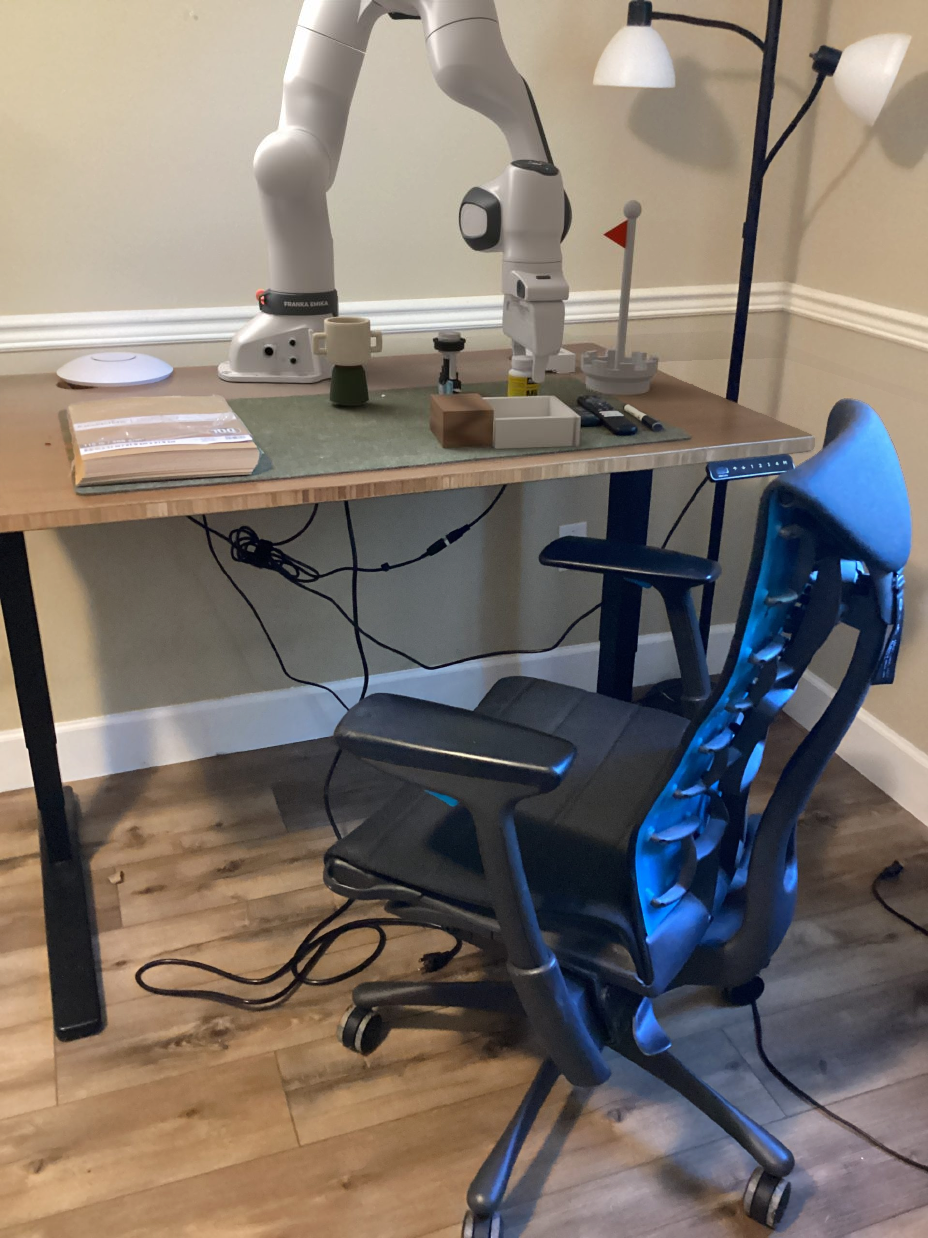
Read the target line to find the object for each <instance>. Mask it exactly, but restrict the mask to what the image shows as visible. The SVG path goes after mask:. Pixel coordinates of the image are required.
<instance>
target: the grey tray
mask: <svg viewBox="0 0 928 1238" xmlns="http://www.w3.org/2000/svg"><path fill="white" fill-rule="evenodd" d="M482 398H483V399H484V400H485V401H486V402H487V403H488V404H489V405H490V406H491V407H492V409H493V410H494V420H493V446H492V448H494V449H495V450H498V449H499V450H502V449H524V448H525V449H526V448H543V447H544V448H546V447H547V448H552V447H579V446H580V436H581V421H582V420H581V419H582V417H581V416H580V415H579V414H578V413H576V411H575V410H573V409H571V407H569V406H568V405H566V404H565V403H564V401H561V399H559V398H558V397H556V396H555V395H538V396H519V397H508V396H493V397H492V396H491V397H490V396H489V397H488V396H486V397H482Z"/></svg>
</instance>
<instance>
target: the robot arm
mask: <svg viewBox="0 0 928 1238" xmlns="http://www.w3.org/2000/svg"><path fill="white" fill-rule="evenodd" d="M386 14H388V16H389V18H390V19H391V20H394V21H399V20H400V21H401V20H403V21H404V20H415V21H416V20H417V21H421V23H422V28H423V35H424V39H425V45H426V46H425V47H426V51H427V57H428V58H427V59H428V62H429V67H430V69H431V73H432V76H433V78H434V81H435V82H436V84H437V85H438V87H439V89H440V90H441V91H442V92H443V93H444V94H445V95H446V96H447V97H449V98H450V99H451V100H453V101H455V102H456V103H458V104H459V105H462V106H465V107H467V108H469V109H471V110H474V111H475V112H477V113H479V114H481V115H482V116H484V117H486V118H487V119H489V120H491V121H492V122H493V123H494V124H495V125H496V126H498V128H499V129H500V131H501V132H502V133H503V135H504V137H505V139H506V142H507V144H508V148H509V150H510V151H509V152H510V154H511V158H512V161H511V162H509V163H508V164H507V166H506V168H505V169H504V170H503V171H504V172H503V173H501V174H500V175H499V176H497V177H496V178H494V179H492V180H490V181H488V182H485V183H483V184H481V185H478V186H473V187H472V188H470V189H469V190H468V191H467V192H466V193H465V195H464V196H463V198H462V200H461V203H460V206H459V210H458V227H459V233H460V235H461V237H462V238H463V241H464V242H465V244H466V245H467V246H468V247H469V248H470V249H472V251H475V252H480V253H485V254H486V253H487V254H488V253H502V258H501V292H502V294H503V305H502V319H501V321H502V323H501V325H502V326H501V327H502V333H503V334H504V335H505V336H507V337H508V338H510V339H511V349H512V356H513V355H514V356H519V355H526V349H528V350H529V351H531V352H532V353H533V355H532V358H533V368H532V369H531V380H532V381H534V382H535V383H539V384H540V383H543V382H545V379H546V378H545V377H546V371H547V370H546V367H547V364H548V360H549V356H552V355H558V354H559V352H560V349H561V348H562V345H563V338H564V329H565V318H566V317H565V316H566V305H565V302H564V301H568V299H569V296H570V286H569V283H568V282H567V280H566V278H565V276H564V272H563V253H562V249H561V248H562V247H561V244H562V243H563V242H564V241H565V239H566V237H567V236H568V233H569V231H570V229H571V225H572V223H573V222H572V221H573V211H572V204H571V201H570V199H569V196H568V194H567V192H566V190H565V188H564V182H563V176H562V173H561V171H560V169H559V168H558V167H557V166H556V165H555V163H554V160H553V157H552V153H551V151H550V147H549V143H548V141H547V137H546V133H545V130H544V127H543V124H542V121H541V116H540V113H539V111H538V109H537V108H538V107H537V105H536V101H535V98H534V96H533V93H532V91H531V88H530V86H529V84H528V82H527V80H526V79H525V78H524V77H523V75H522V74H521V73H519V71H518V70H517V68H516V66H515V65H514V63H513V61H512V59H511V57H510V55H509V52H508V51H507V50H508V49H507V48H506V45H505V43H504V39H503V35H502V32H501V27H500V22H499V17H498V16H499V15H498V12H497V8H496V4H495V0H304V1H303V4H302V7H301V10H300V15H299V17H298V21H297V25H296V28H295V32H294V33H295V34H294V35H293V36H294V37H293V41H292V43H291V48H290V52H289V56H288V60H287V63H286V69H285V72H284V75H283V84H282V85H283V87H282V88H283V89H282V99H281V100H282V101H281V107H280V115H279V121H278V128H277V130H275V131H273V132H271V133H269V134H267V136H265V137H264V138H263V140H262V141H261V142H260V143H259V145H258V147H257V149H256V151H255V153H254V158H253V165H252V166H253V167H252V168H253V174H254V178H255V180H256V183H257V184H256V185H257V190H258V191H257V192H258V197H259V198H258V199H259V204H260V205H259V206H260V210H261V215H262V216H261V217H262V220H263V224H264V231H265V236H266V243H267V245H266V246H267V257H268V259H267V260H268V275H269V277H268V278H269V288H268V289H266V290H265V289H263V288H259V289H257V290H256V292H255V294H254V295H255V298H256V300H257V301H258V305H259V306H258V309H259V311H260V312H259V313H257V314H256V315H255V316H253V317H252V318H251V319H250V320H249V321H248V322H247V323H246V324H244V325H243V326H242V327H241V328H240V329H239V330H237V331H236V332H235V333H234V335H233V336H232V338H231V341H230V346H229V350H228V351H229V352H228V353H229V354H228V355H229V356H228V360H226V361H223V362H221V363H220V364H219V365H218V367H217V375H218V377H219V378H220V379H222V380H225V381H227V382H243V383H244V382H245V383H248V382H250V383H253V382H254V383H301V384H302V383H304V384H305V383H306V384H308V383H311V384H312V383H317V382H319V381H323V380H325V379H331V376H332V370H333V367H334V366H335V364H331V363H329V362H327V359H326V357H325V355H315V354H314V353H313V342H312V336H313V334H314V333H325V332H324V320H325V319H327V318H332V317H340V313H339V311H340V308H339V307H340V306H339V295H338V291H337V289H336V286H335V284H336V283H335V261H334V260H335V259H334V257H335V255H334V254H335V253H334V252H335V251H334V239H333V234H332V230H331V224H330V217H329V210H328V209H329V208H328V202H327V201H328V200H327V192H329V190H331V188H332V186H333V185H334V183H335V178H336V177H337V171H338V169H339V162H340V161H341V155H342V150H343V145H344V142H345V136H346V131H347V128H348V127H347V126H348V120H349V115H350V110H351V109H350V108H351V105H352V101H353V98H354V94H355V91H356V88H357V84H358V81H359V77H360V73H361V71H362V67H363V63H364V59H365V56H366V52H367V48H368V44H369V41H370V38H371V37H370V36H371V33H372V31H373V28H374V26H375V24H376V22H377V20H378V19H379V18H381V17H382V16H383V15H386ZM319 348H325V339H319Z"/></svg>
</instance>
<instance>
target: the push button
mask: <svg viewBox="0 0 928 1238" xmlns="http://www.w3.org/2000/svg"><path fill="white" fill-rule="evenodd" d="M432 342H433V348H434V350H436V351H438V353H440V354H442V355H441V372H439V376H438V379H437V380H438V382H437V384H438V385H437V387H438V388H437V392H438V393H437V394H460V392H461V393H462V386H463V385H462V381H461V379H460V380H459V372H458V371H457V355H458V354H459V353H461V352H462V351H463V350H465V343H467V339H466V338H465V337H464V338H463V337H462V336H461V332H459V331H452V330H451V331H450V330H449V331H448V330H447V331H446V330H443V331H439V332H438V334H437V337H433V339H432Z"/></svg>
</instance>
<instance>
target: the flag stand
mask: <svg viewBox="0 0 928 1238" xmlns="http://www.w3.org/2000/svg"><path fill="white" fill-rule="evenodd" d="M622 211H623V215H624V216H625V218H626V220H624V221H622V222H621V223H619V224H618V225H616V226H614V227H613V228H611V229H609V230H607V231H606V232H604V233H603V234H602V235H603V236H605V237H606V238H607V239H609V240H611V241H612V242H614V243H616V244H617V245H618V246H620V247H622V249H623V250H624V251H623V252H624V253H623V262H622V274H621V286H620V296H619V297H620V299H619V307H618V308H619V309H618V311H619V312H618V320H617V321H618V322H617V323H618V324H617V335H616V346H615V347H616V348H607V349H606V348H605V354H604V355H598V352H599V351H598V350H595V349H593V350H587V351H585V352H584V354H580V355H581V357H580V370H581V372H582V373H584V374H585V384H586V385H587V386H588V387H590V388H592V389H594V390H597V391H599V392H602V393H601V394H606V395H613V396H614V395H615V396H616V395H617V396H632V395H641V394H646V393H647V392H649V391H650V388H651V387H650V386H651V379H652V378H653V377H654V376H656V375H657V374H658V367H659V357H658V356H657V355H654V354H653V355H649V356H648V357H649V358H648V359H647V355H648V353H647V352H645V351H639V350H632V352H631V356H626V355H625V353H626V342H627V332H628V321H629V320H628V318H629V310H630V309H629V308H630V307H629V306H630V297H631V296H630V295H631V285H632V275H633V274H632V273H633V265H634V264H633V262H634V254H635V253H634V251H635V240H636V239H635V237H636V226H637V219H638V218H639V217H640V216H641V214H642V211H643V209H642V204H641V203H640V202H639V201H638V200H635V199H632V200H631V199H630V200H628V201H627V202H625V204H624V206H623V210H622ZM585 384H584V385H585ZM599 392H598V393H599Z"/></svg>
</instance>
